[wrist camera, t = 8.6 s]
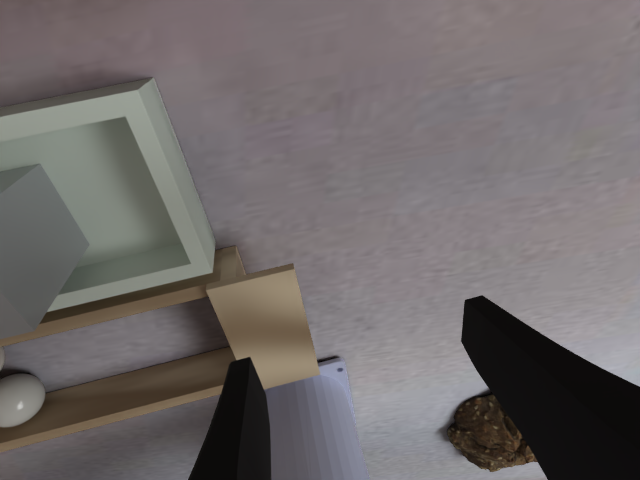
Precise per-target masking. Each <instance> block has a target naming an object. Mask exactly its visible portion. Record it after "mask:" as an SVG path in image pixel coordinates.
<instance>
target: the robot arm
mask: <svg viewBox="0 0 640 480" xmlns="http://www.w3.org/2000/svg"><path fill="white" fill-rule="evenodd" d="M461 342H462V344H463V346H464V348H465V350H466V351H467V353H468V355H469V357H470V359H471V361H472V363H473V365H474V366H475V368H476V370H477V371H478V373H479V374H480V376H481V377H482V379H483V380H484V382H485V383H486V385H487V386H488V387H489V389H490V390H491V392H492V393H493V395H494V396H495V398H496V399H497V400H498V402H499V403H500V405H501V406H502V408H503V409H504V410H505V412H506V413H507V415H508V416H509V418H510V419H511V420H512V422H513V423H514V425H515V426H516V428H517V429H518V431H519V432H520V433H521V435H522V437H523V438H524V440H525V441H526V443H527V444H528V446H529V448H530V449H531V451H532V453H533V454H534V456H535V458H536V460H537V461H538V463H539V465H540V467H541V468H542V470H543V472H544V474H545V475H546V477H547V479H548V480H640V387H639V386H637V385H635V384H632V383H630V382H628V381H626V380H624V379H622V378H620V377H618V376H616V375H614V374H612V373H610V372H608V371H606V370H604V369H602V368H600V367H598V366H596V365H594V364H592V363H591V362H589V361H587V360H585V359H583V358H582V357H580V356H578V355H576V354H574V353H573V352H571V351H569V350H567V349H566V348H564V347H562V346H560V345H559V344H557V343H555V342H554V341H552V340H550V339H549V338H547V337H546V336H544V335H542V334H541V333H539V332H538V331H536V330H534V329H533V328H531V327H530V326H528V325H526V324H525V323H523V322H522V321H520V320H519V319H517V318H516V317H514V316H513V315H511V314H510V313H508V312H507V311H505V310H504V309H502V308H501V307H499V306H498V305H496V304H495V303H493V302H491V301H490V300H488V299H487V298H485V297H484V296H478V297H474V298H471V299H467V300H465V304H464V315H463V327H462V339H461ZM318 367H319V371H320V375H317V376H313V377H309V378H306V379H302V380H298V381H294V382H290V383H287V384H283V385H279V386H275V387H272V388H268V389H264V388H263V386H262V384H261V381H260V379H259V376H258V374H257V372H256V369H255V367H254V364H253V362H252V360H251V357H247V358H243V359H240V360H236V361H232V362H231V363H230V364H229V367H228V371H227V374H226V378H225V382H224V385H223V389H222V392H221V395H220V398H219V401H218V404H217V407H216V410H215V413H214V416H213V419H212V422H211V424H210V427H209V430H208V433H207V435H206V438H205V441H204V443H203V445H202V448H201V450H200V453H199V455H198V458H197V460H196V463H195V465H194V467H193V470H192V472H191V474H190V476H189V479H188V480H370V477H369V474H368V470H367V467H366V463H365V460H364V456H363V452H362V449H361V445H360V442H359V438H358V435H357V431H356V428H355V425H356V421H355V415H354V410H353V404H352V399H351V393H350V387H349V382H348V376H347V371H346V365H345V361H344V359H342V358H335V359H331V360H328V361H324V362H320V363H318Z"/></svg>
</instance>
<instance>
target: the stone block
mask: <svg viewBox="0 0 640 480" xmlns="http://www.w3.org/2000/svg"><path fill="white" fill-rule="evenodd" d="M89 245H90V244H89V242H88V241H87V239H86V237H85V236H84V234H83V233H82V231H81V229H80V228H79V226H78V224H77V223H76V221H75V219H74V218H73V216H72V215H71V213H70V211H69V210H68V208H67V206H66V205H65V203H64V201H63V200H62V198H61V197H60V195H59V193H58V192H57V190H56V188H55V187H54V185H53V183H52V182H51V180H50V179H49V177H48V175H47V174H46V172H45V170H44V169H43V167H42V165H41V164H40V163H39V164H35V165H30V166H25V167H20V168H15V169H10V170H5V171H0V339H3V338H7V337H12V336H16V335H20V334H24V333H28V332H33V331H35V329H36V328H37V326H38V325H39V323H40V322H41V320H42V319H43V317H44V315H45V314H46V312H47V311H48V309H49V308H50V306H51V304H52V303H53V301H54V300H55V298H56V297H57V295H58V293H59V292H60V290H61V289H62V287H63V286H64V284H65V283H66V281H67V279H68V278H69V276H70V275H71V273H72V272H73V270H74V268H75V267H76V265H77V264H78V262H79V261H80V259H81V258H82V256H83V254H84V253H85V251H86V250H87V248H88V247H89Z"/></svg>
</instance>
